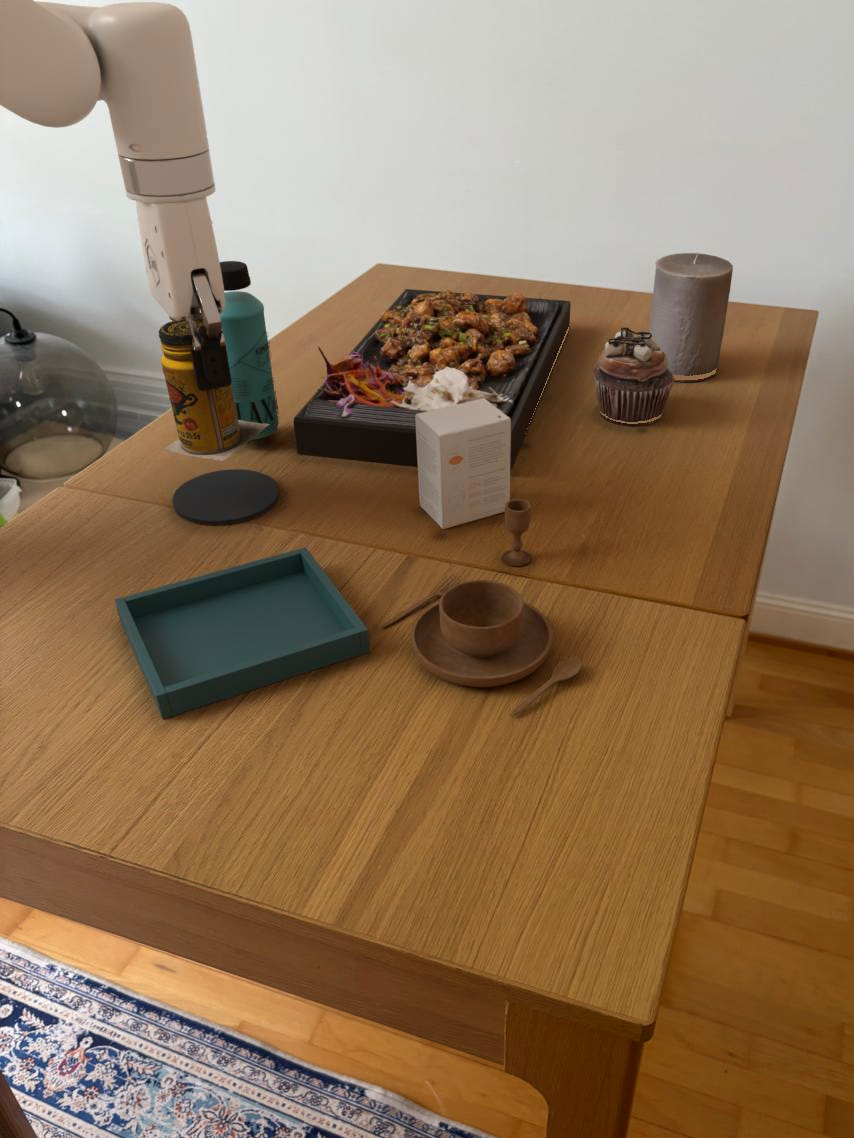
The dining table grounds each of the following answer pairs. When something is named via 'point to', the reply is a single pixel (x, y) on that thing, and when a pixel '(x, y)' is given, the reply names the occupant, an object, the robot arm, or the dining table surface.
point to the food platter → (433, 372)
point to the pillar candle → (690, 311)
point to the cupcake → (632, 378)
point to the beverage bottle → (248, 350)
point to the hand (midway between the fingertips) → (204, 373)
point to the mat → (225, 497)
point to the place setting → (487, 627)
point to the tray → (239, 630)
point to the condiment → (199, 402)
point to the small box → (463, 462)
